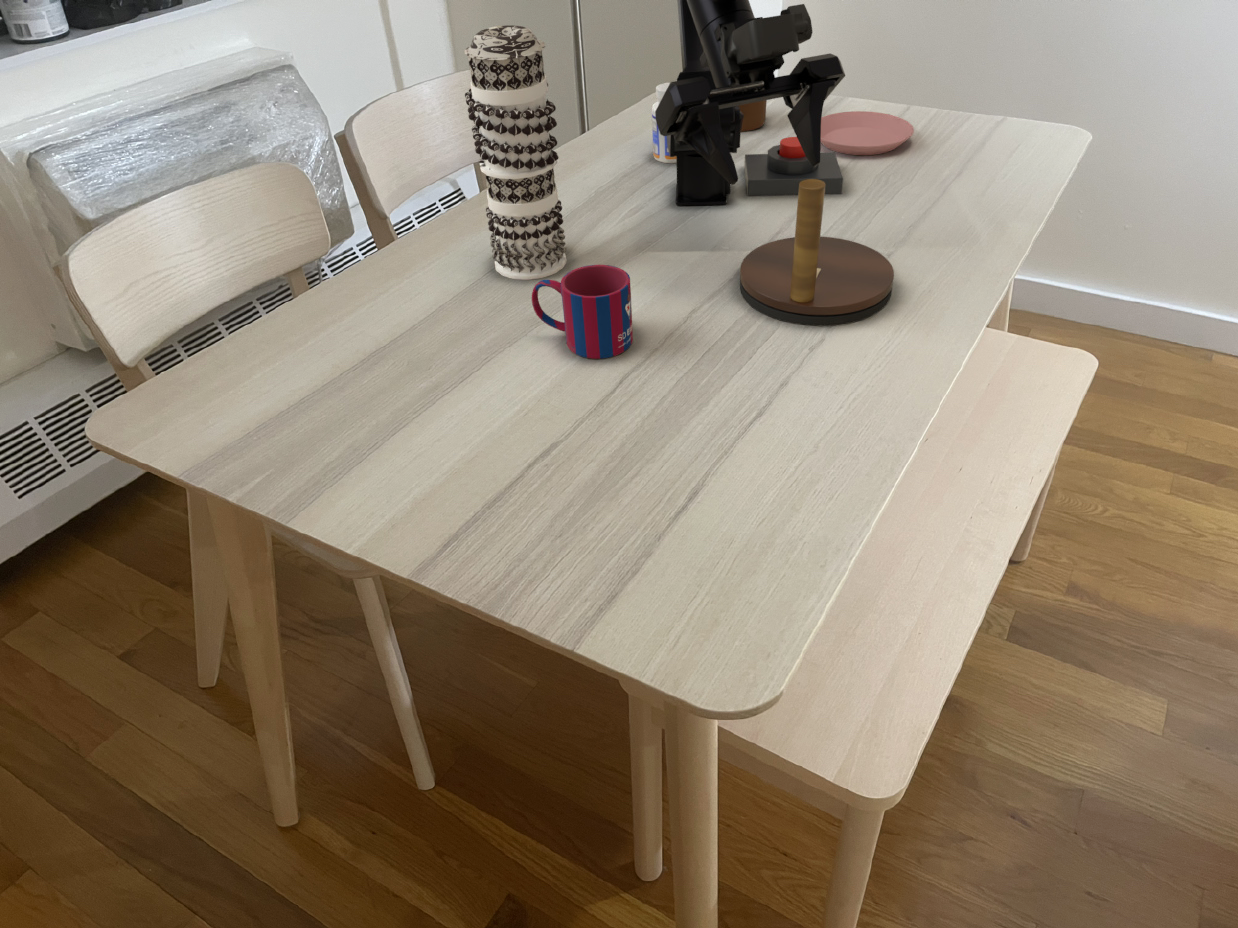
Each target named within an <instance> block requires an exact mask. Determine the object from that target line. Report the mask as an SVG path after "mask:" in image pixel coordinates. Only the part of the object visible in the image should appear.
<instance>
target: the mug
mask: <svg viewBox="0 0 1238 928" xmlns="http://www.w3.org/2000/svg"><path fill="white" fill-rule="evenodd" d="M767 102H768V100H765V101H759V102H754V103H749V104H744V105H739V108H740V111H741V112H742V113H743V115H744V118H743V124H742V129H741V133H742V132H743V133H744V132H750V131H751V132H752V131H755V130H758V129H760V128H761V127H762V126H763V125H764V124H765V122H766V117H767Z"/></svg>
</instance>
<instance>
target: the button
mask: <svg viewBox="0 0 1238 928" xmlns="http://www.w3.org/2000/svg"><path fill="white" fill-rule="evenodd" d="M779 145H780V152H779V155H780V156H782V157H786V158H802V157H806V156H805V153H804V151H803V149H802V147H801V145H800V142H799V140H798V138H797V136H789V137H788V136H787V137H784V138H782V139H781V140H780V141H779Z"/></svg>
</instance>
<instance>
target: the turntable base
mask: <svg viewBox="0 0 1238 928" xmlns="http://www.w3.org/2000/svg"><path fill="white" fill-rule="evenodd" d="M739 291H740V294H741V296H742V299H743V300H744V301H745V302H746V303H747V304H748V305H749V306H750V307H751V308H753V309H754V310H756V311H757V312H759V313H761V314H762V315H764V316H766V317H770V318H772V319H775V320H778V321H781V322H785V323H789V324H795V325H801V326H802V325H803V326H815V327H816V326H817V327H828V326H829V327H830V326H837V325H838V326H839V325H846V324H851V323H855V322H860V321H863V320H865V319H867V318H870V317H872V316H874V315H876V314H878V313H879V312H880V311H882V310H883V309H884V308H885V307H886V306H887V305H888V303H889V302H890V299H891V297H892V292H893V287H892V288H891V290H890V292H889V294H888V295H887V296H886V297H885V298H884V299H882V300H881V301H880V302H878V303H876V304H875V305H873V306H870V307H868V308H865V309H862V310H859V311H855V312H851V313H845V314H837V315H807V314H798V313H793V312H787V311H784V310H780V309H777V308H774V307H771V306H768V305H766V304H764V303H762V302H760V301H758V300H757V299H755V298H754V297H752V296H751V295H750V294H749V293H748V292H747V291H746V290H745V289H744V287H743V286H742V283H741V280H740V279H739Z"/></svg>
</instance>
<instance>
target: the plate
mask: <svg viewBox="0 0 1238 928" xmlns="http://www.w3.org/2000/svg"><path fill="white" fill-rule="evenodd" d="M914 132H915V129H914V126H913V125H912V123H910V122H909V121H908V120H906V119H904V118H902V117H899V116H897V115H893V114H890V113H884V112H879V111H868V110H867V111H865V110H864V111H863V110H862V111H861V110H858V111H857V110H856V111H855V110H854V111H841V112H835V113H831V114H827V115H824V116H822V117H821V144H822V145H823V146H824V147H825V148H827V149H828V150H831V151H832V152H836V153H840V154H845V155H850V156H872V155H873V156H874V155H881V154H885V153H888V152H891V151H893V150H895V149H897V148H898V147H899V146H901V145H902V144H903V143H905V142H907V140H909V139H910V138H911V137H912V136H913V135H914Z"/></svg>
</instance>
